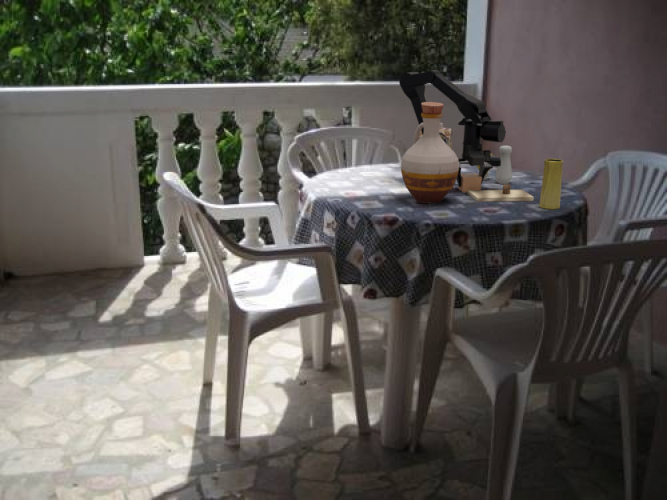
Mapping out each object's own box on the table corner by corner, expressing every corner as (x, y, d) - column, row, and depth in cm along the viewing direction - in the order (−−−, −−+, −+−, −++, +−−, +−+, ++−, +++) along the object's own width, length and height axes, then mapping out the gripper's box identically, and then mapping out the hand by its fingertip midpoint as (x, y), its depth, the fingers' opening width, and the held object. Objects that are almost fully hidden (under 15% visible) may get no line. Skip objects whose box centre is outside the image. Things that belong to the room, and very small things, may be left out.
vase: (536, 204, 218) (540, 158, 214) (557, 204, 218) (561, 158, 214) (541, 209, 212) (546, 161, 208) (562, 209, 212) (567, 161, 208)
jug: (388, 195, 229) (390, 100, 221) (437, 191, 236) (441, 99, 227) (415, 209, 212) (419, 106, 203) (468, 204, 218) (474, 104, 209)
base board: (476, 201, 222) (477, 188, 220) (467, 193, 232) (468, 181, 231) (533, 200, 223) (534, 188, 222) (521, 193, 233) (522, 181, 232)
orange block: (462, 192, 234) (463, 177, 233) (457, 188, 240) (458, 173, 239) (481, 192, 235) (482, 177, 233) (475, 188, 241) (476, 173, 239)
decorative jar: (451, 168, 276) (453, 121, 270) (448, 174, 265) (451, 125, 260) (420, 167, 278) (422, 120, 273) (416, 172, 267) (418, 124, 262)
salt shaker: (511, 185, 246) (514, 147, 242) (494, 184, 247) (497, 146, 243) (511, 181, 251) (514, 145, 248) (494, 181, 252) (497, 144, 249)
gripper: (450, 143, 224) (447, 192, 229) (508, 143, 226) (504, 191, 230) (442, 138, 235) (439, 185, 239) (497, 138, 236) (494, 184, 241)
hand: (469, 186), depth 237 cm, fingers open, 6 cm apart
